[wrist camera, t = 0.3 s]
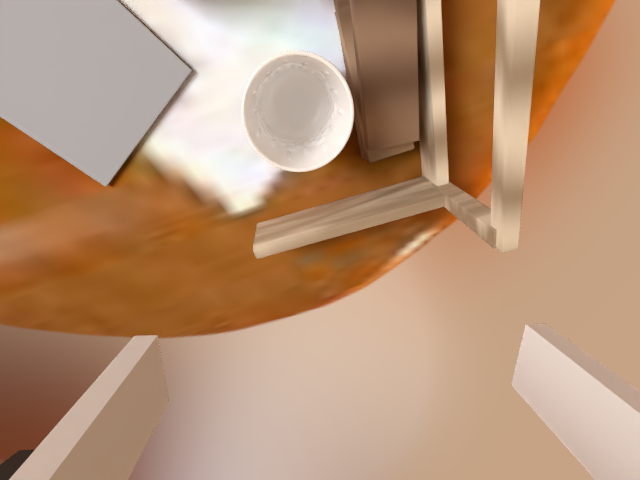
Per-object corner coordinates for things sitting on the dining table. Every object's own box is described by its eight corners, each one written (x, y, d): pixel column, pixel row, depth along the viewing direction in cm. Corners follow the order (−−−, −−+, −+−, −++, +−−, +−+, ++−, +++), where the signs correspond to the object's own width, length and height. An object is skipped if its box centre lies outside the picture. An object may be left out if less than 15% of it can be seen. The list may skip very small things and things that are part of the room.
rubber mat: (8, -103, 21) (2, -107, 21) (192, 70, 28) (191, 70, 27) (-67, 68, 26) (-73, 68, 25) (108, 185, 32) (105, 186, 31)
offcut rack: (150, -36, 24) (-5, -162, 11) (414, -120, 23) (577, -360, 10) (261, 233, 36) (249, 322, 23) (435, 184, 36) (520, 247, 23)
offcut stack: (329, 1, 26) (338, -12, 22) (394, -18, 26) (415, -34, 22) (357, 157, 33) (367, 169, 29) (408, 143, 33) (426, 153, 29)
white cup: (325, 48, 28) (343, 37, 19) (340, 134, 32) (361, 158, 23) (242, 68, 28) (223, 67, 19) (267, 152, 32) (261, 182, 23)
